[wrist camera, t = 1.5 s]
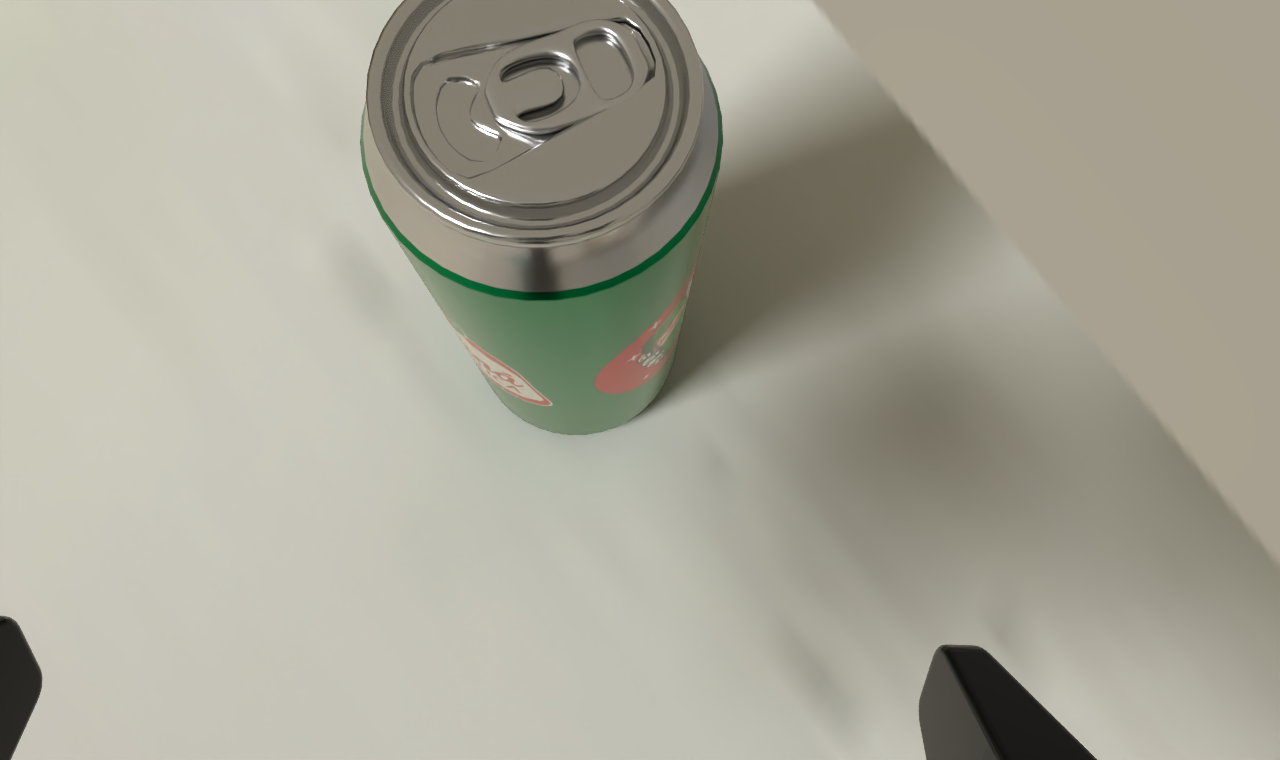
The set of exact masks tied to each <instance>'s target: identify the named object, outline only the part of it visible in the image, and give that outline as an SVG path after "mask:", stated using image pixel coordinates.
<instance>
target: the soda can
mask: <svg viewBox="0 0 1280 760" xmlns="http://www.w3.org/2000/svg"><path fill="white" fill-rule="evenodd" d="M360 146H361V155H362V165H363V171H364V174H365V177H366V181H367V184H368V188H369V191H370V194H371V196H372V198H373V200H374V202H375V205H376V207H377V209H378V211H379V213H380V215H381V217H382V219H383V220H384V222H385V223H386V225H387V226H388V228H389V229H390V231H391V233H392V234H393V236H394V237H395V239H396V240H397V242H398V243H399V245H400V247H401V248H402V250H403V251H404V253H405V254H406V256H407V257H408V259H409V261H410V262H411V264H412V265H413V267H414V268H415V270H416V271H417V273H418V274H419V276H420V278H421V279H422V281H423V282H424V284H425V285H426V287H427V288H428V290H429V292H430V293H431V295H432V296H433V298H434V299H435V301H436V302H437V304H438V306H439V307H440V309H441V310H442V312H443V313H444V315H445V316H446V318H447V320H448V321H449V323H450V324H451V326H452V327H453V329H454V330H455V332H456V333H457V335H458V337H459V338H460V340H461V341H462V343H463V344H464V346H465V347H466V349H467V351H468V352H469V354H470V355H471V357H472V358H473V360H474V361H475V363H476V365H477V366H478V368H479V369H480V371H481V372H482V374H483V375H484V377H485V379H486V380H487V382H488V383H489V385H490V386H491V388H492V389H493V391H494V392H495V393H496V395H497V396H498V398H499V399H500V400H501V402H502V403H503V404H504V405H505V406H506V407H507V408H508V409H509V410H511V411H512V412H513V413H514V414H515V415H517V416H518V417H520V418H521V419H523V420H524V421H526V422H528V423H530V424H532V425H534V426H536V427H538V428H540V429H544V430H547V431H550V432H553V433H560V434H567V435H586V434H592V433H598V432H603V431H606V430H609V429H612V428H615V427H617V426H619V425H621V424H623V423H625V422H627V421H629V420H630V419H632V418H633V417H634V416H636V415H637V414H639V413H640V412H641V411H643V410H644V409H645V407H646V406H647V405H648V404H649V403H650V402H651V401H652V400H653V399H654V398H655V396H656V395H657V394H658V392H659V391H660V390H661V388H662V386H663V384H664V382H665V380H666V378H667V376H668V374H669V371H670V368H671V365H672V362H673V358H674V354H675V350H676V346H677V342H678V337H679V333H680V329H681V325H682V321H683V317H684V313H685V309H686V305H687V300H688V296H689V292H690V288H691V284H692V280H693V276H694V272H695V267H696V263H697V259H698V255H699V251H700V247H701V243H702V239H703V235H704V230H705V226H706V222H707V218H708V214H709V210H710V206H711V202H712V197H713V193H714V189H715V185H716V181H717V177H718V173H719V169H720V161H721V154H722V146H723V133H722V115H721V111H720V106H719V102H718V97H717V93H716V90H715V87H714V85H713V82H712V80H711V77H710V75H709V73H708V70H707V68H706V66H705V65H704V63H703V61H702V60H701V58H700V57H699V55H698V53H697V50H696V48H695V45H694V43H693V40H692V38H691V35H690V33H689V31H688V29H687V27H686V25H685V24H684V22H683V20H682V19H681V17H680V16H679V14H678V12H677V11H676V9H675V8H674V7H673V6H672V5H671V4H670V2H669V1H668V0H404V1H403V2H402V3H401V4H400V5H399V6H398V7H397V8H396V10H395V11H394V13H393V14H392V16H391V17H390V19H389V20H388V22H387V24H386V25H385V27H384V28H383V30H382V32H381V34H380V37H379V39H378V41H377V44H376V46H375V48H374V50H373V54H372V58H371V62H370V66H369V70H368V75H367V90H366V102H365V107H364V111H363V115H362V123H361V138H360Z"/></svg>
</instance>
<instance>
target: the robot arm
mask: <svg viewBox="0 0 1280 760" xmlns="http://www.w3.org/2000/svg"><path fill="white" fill-rule="evenodd" d="M41 688H42V672H41V669H40V667H39V665H38V663H37V661H36V659H35V657H34V655H33V653H32V651H31V649H30V647H29V645H28V643H27V640H26V638H25V636H24V634H23V632H22V630H21V628H20V626H19V625H18V623H17V622H16V621H15V620H13V619H12V618H10V617H7V616H0V760H11V758H12V756H13V754H14V751H15V749H16V747H17V745H18V743H19V740H20V738H21V736H22V734H23V732H24V729H25V727H26V725H27V723H28V721H29V718H30V716H31V714H32V712H33V710H34V707H35V705H36V703H37V701H38V698H39V695H40V692H41ZM919 721H920V727H921V732H922V738H923V743H924V749H925V754H926V760H1097V759H1096V758H1095V757H1094V756H1093V755H1092V754H1091V753H1090V752H1089V751H1088V750H1087V749H1086V748H1085V747H1084V746H1083V745H1082V744H1081V743H1080V742H1079V741H1078V740H1077V739H1076V738H1075V737H1074V736H1073V735H1072V734H1071V733H1070V732H1069V731H1068V730H1067V729H1066V728H1065V727H1064V726H1062V725H1061V724H1060V723H1059V722H1058V721H1057V720H1056V719H1055V718H1054V717H1053V716H1052V715H1051V714H1050V713H1049V712H1048V711H1047V710H1046V709H1045V708H1044V707H1043V706H1042V705H1041V704H1040V703H1039V702H1038V701H1037V700H1036V699H1035V698H1034V697H1033V696H1032V695H1031V694H1030V693H1029V692H1028V691H1027V690H1026V689H1025V688H1024V687H1023V686H1022V685H1021V684H1020V683H1019V682H1018V681H1017V680H1016V679H1015V678H1014V677H1013V676H1012V675H1011V674H1010V673H1009V672H1008V671H1007V670H1006V669H1005V668H1004V667H1003V666H1002V665H1001V664H1000V663H999V662H998V661H997V660H996V659H995V658H994V657H993V656H992V655H990V654H989V653H988V652H987V651H986V650H984V649H983V648H981V647H978V646H973V645H942V646H940V647H939V648H938V649H937V650H936V651H935V654H934V656H933V659H932V662H931V665H930V668H929V671H928V674H927V677H926V680H925V684H924V687H923V690H922V693H921V696H920V701H919Z"/></svg>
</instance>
